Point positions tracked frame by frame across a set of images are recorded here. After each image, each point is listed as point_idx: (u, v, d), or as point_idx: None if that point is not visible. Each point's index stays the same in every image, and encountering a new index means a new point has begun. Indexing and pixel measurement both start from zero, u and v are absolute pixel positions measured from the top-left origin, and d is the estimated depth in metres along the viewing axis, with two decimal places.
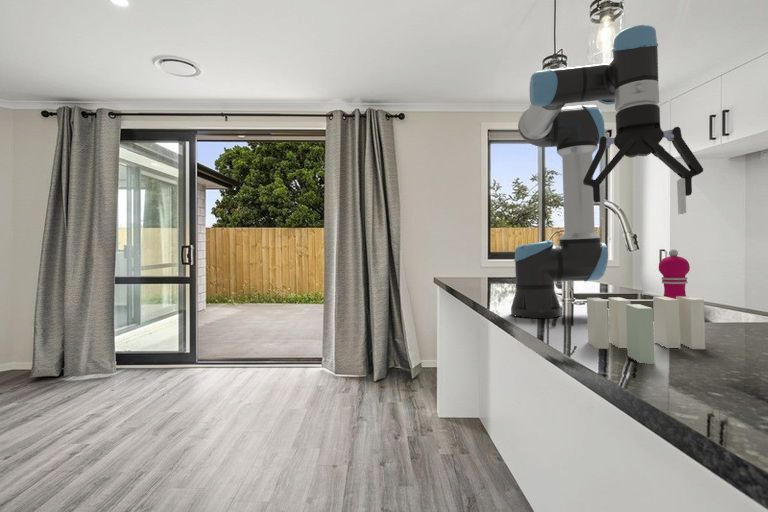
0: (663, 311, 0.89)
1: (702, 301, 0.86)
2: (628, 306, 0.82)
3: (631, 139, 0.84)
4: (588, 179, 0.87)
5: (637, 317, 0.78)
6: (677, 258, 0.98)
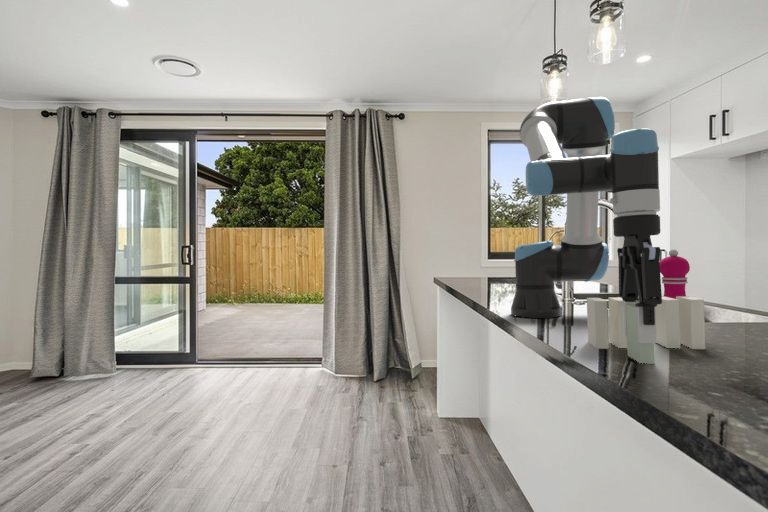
0: (663, 311, 0.89)
1: (702, 301, 0.86)
2: (628, 306, 0.82)
3: (622, 249, 0.82)
4: (620, 292, 0.86)
5: (637, 317, 0.78)
6: (677, 258, 0.98)
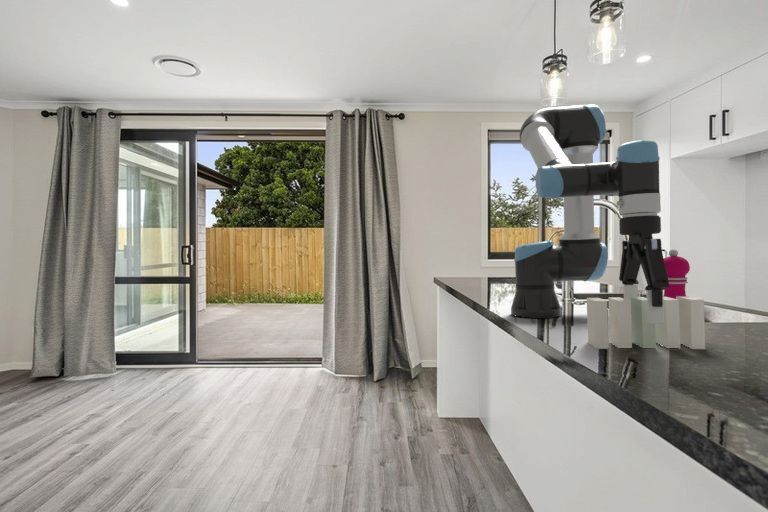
0: None
1: (702, 301, 0.86)
2: (632, 298, 0.93)
3: (627, 246, 0.92)
4: (620, 277, 0.99)
5: (640, 308, 0.89)
6: (677, 258, 0.98)
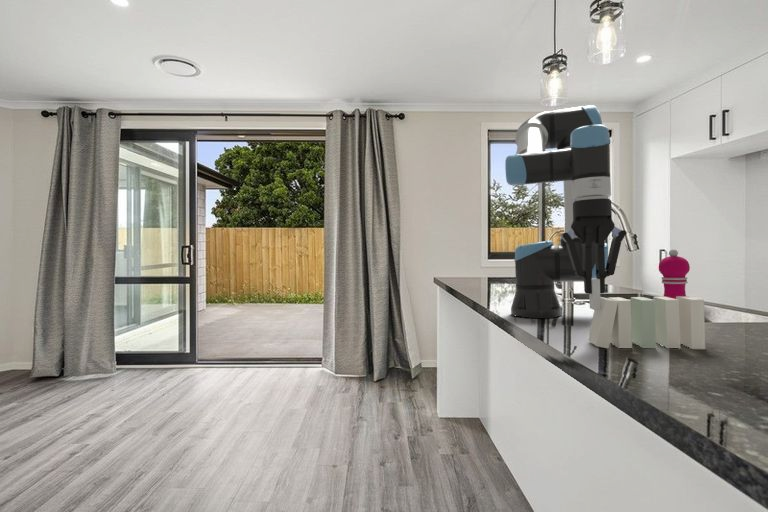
0: (663, 311, 0.89)
1: (702, 301, 0.86)
2: (632, 298, 0.93)
3: (587, 229, 0.91)
4: (580, 271, 0.92)
5: (640, 308, 0.89)
6: (677, 258, 0.98)
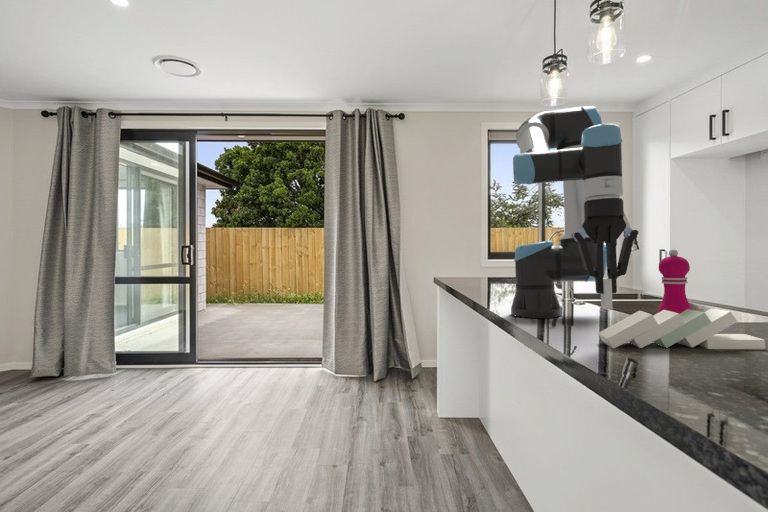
0: (714, 317, 0.88)
1: None
2: (689, 310, 0.91)
3: (599, 228, 0.90)
4: (592, 271, 0.91)
5: (695, 316, 0.87)
6: (677, 258, 0.98)
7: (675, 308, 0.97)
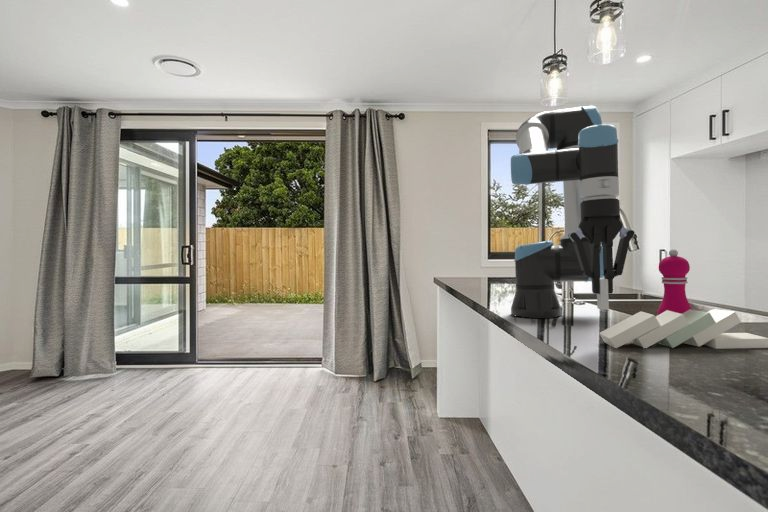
0: (719, 317, 0.88)
1: None
2: (692, 310, 0.92)
3: (596, 229, 0.90)
4: (588, 271, 0.91)
5: (700, 316, 0.88)
6: (677, 258, 0.98)
7: (675, 308, 0.97)
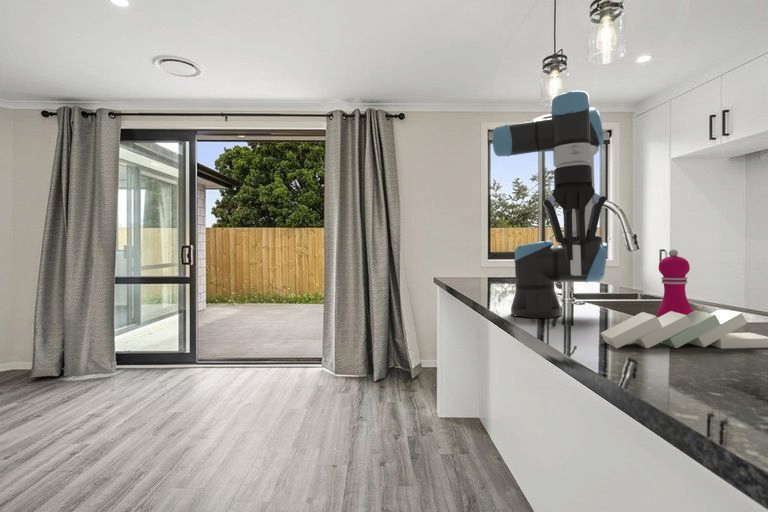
0: (725, 317, 0.88)
1: None
2: (698, 311, 0.91)
3: (568, 195, 0.91)
4: (561, 238, 0.93)
5: (705, 318, 0.87)
6: (677, 258, 0.98)
7: (675, 308, 0.97)
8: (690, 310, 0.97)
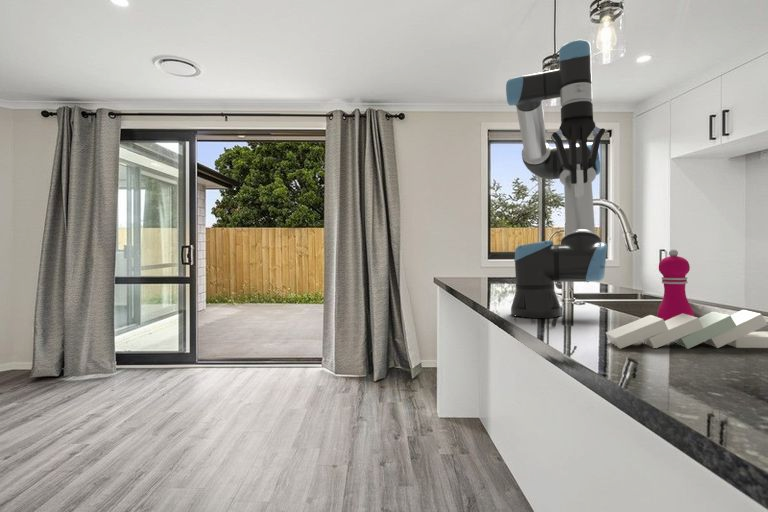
0: (744, 318, 0.86)
1: None
2: (715, 312, 0.90)
3: (573, 128, 1.09)
4: (567, 164, 1.10)
5: (720, 319, 0.86)
6: (677, 258, 0.98)
7: (675, 308, 0.97)
8: (690, 310, 0.97)
